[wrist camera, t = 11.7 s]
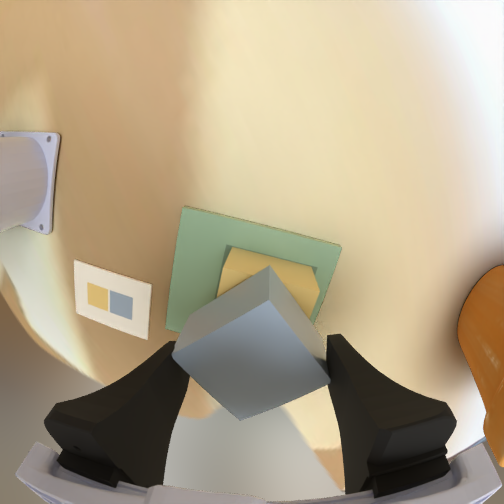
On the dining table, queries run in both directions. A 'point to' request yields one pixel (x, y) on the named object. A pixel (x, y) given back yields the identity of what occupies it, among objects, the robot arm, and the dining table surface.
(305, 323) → the brick
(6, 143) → the robot arm
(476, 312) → the flower pot
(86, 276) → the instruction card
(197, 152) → the dining table surface
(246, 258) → the brick
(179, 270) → the plate
